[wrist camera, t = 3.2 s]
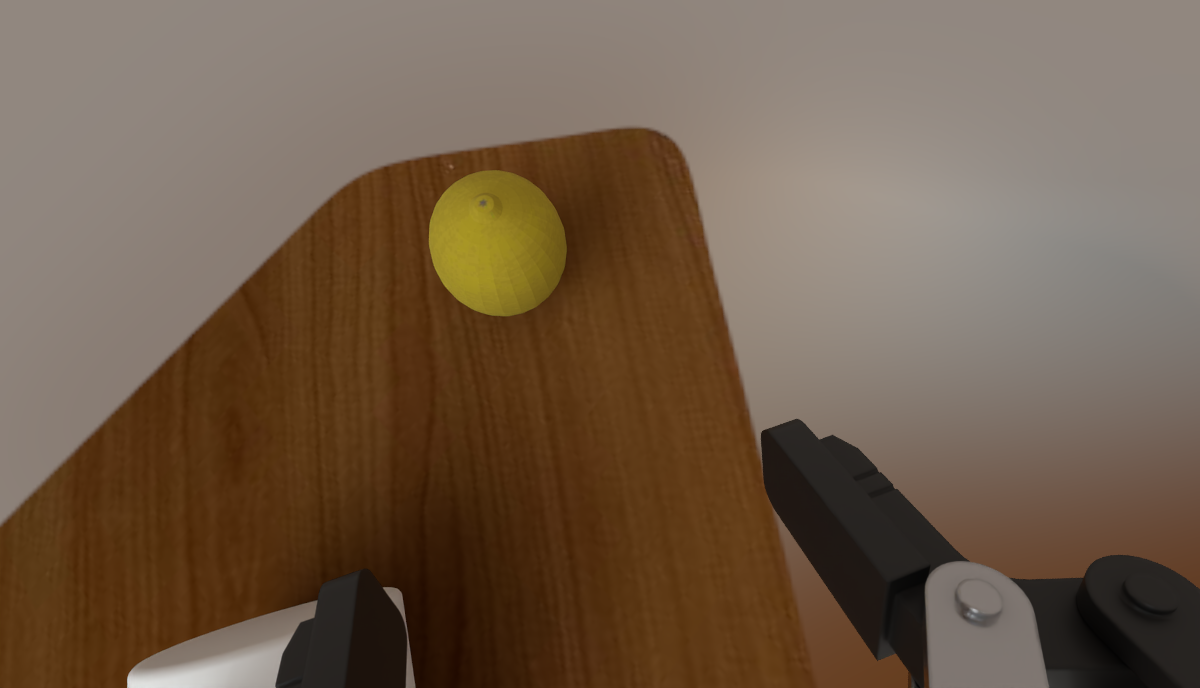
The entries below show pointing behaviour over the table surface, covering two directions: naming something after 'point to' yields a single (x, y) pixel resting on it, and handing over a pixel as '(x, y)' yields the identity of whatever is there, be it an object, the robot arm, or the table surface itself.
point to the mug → (237, 653)
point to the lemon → (497, 243)
